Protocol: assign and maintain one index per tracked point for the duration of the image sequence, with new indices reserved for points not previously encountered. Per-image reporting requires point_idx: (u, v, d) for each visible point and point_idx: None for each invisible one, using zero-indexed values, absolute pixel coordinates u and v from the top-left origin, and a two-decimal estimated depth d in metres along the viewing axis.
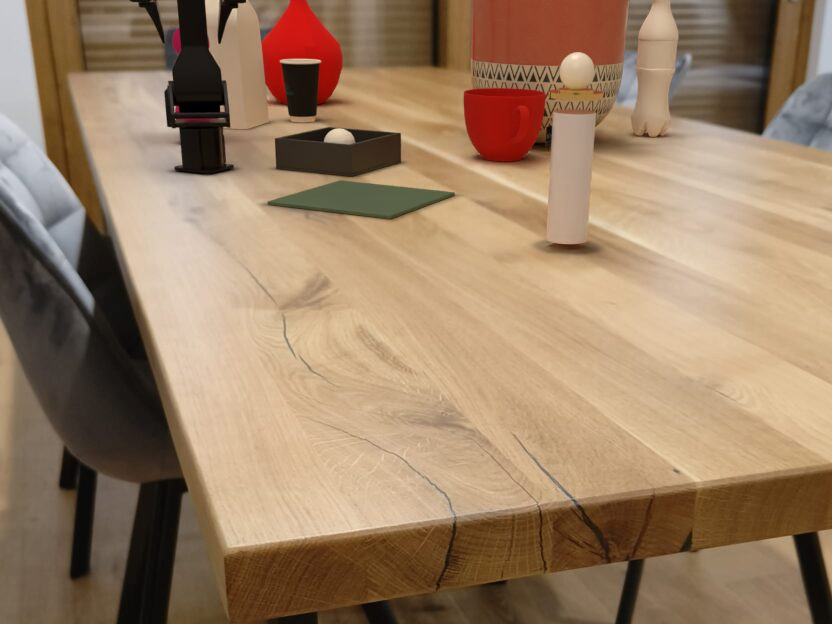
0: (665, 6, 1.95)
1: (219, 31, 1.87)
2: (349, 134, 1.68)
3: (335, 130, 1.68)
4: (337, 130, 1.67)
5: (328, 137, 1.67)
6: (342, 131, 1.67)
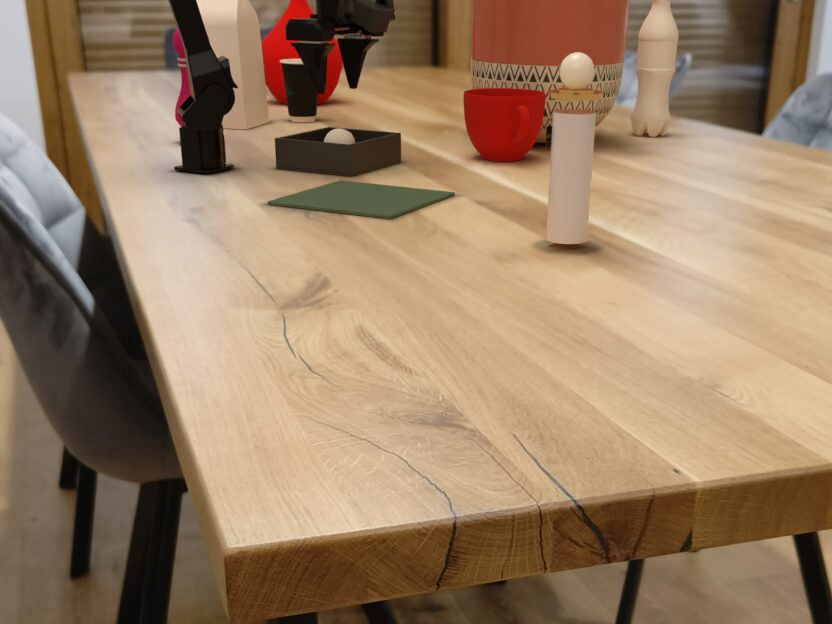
0: (665, 6, 1.95)
1: None
2: (349, 134, 1.68)
3: (335, 130, 1.68)
4: (337, 130, 1.67)
5: (328, 137, 1.67)
6: (342, 131, 1.67)
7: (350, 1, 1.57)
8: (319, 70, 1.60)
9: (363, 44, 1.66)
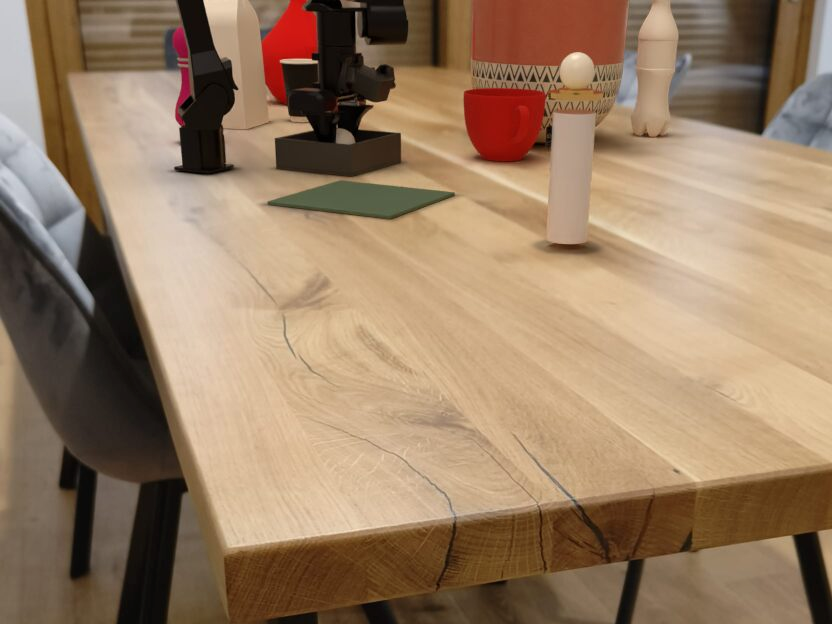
0: (665, 6, 1.95)
1: None
2: (349, 134, 1.68)
3: None
4: (337, 130, 1.67)
5: None
6: (342, 131, 1.67)
7: (351, 71, 1.61)
8: (329, 136, 1.65)
9: (358, 111, 1.69)
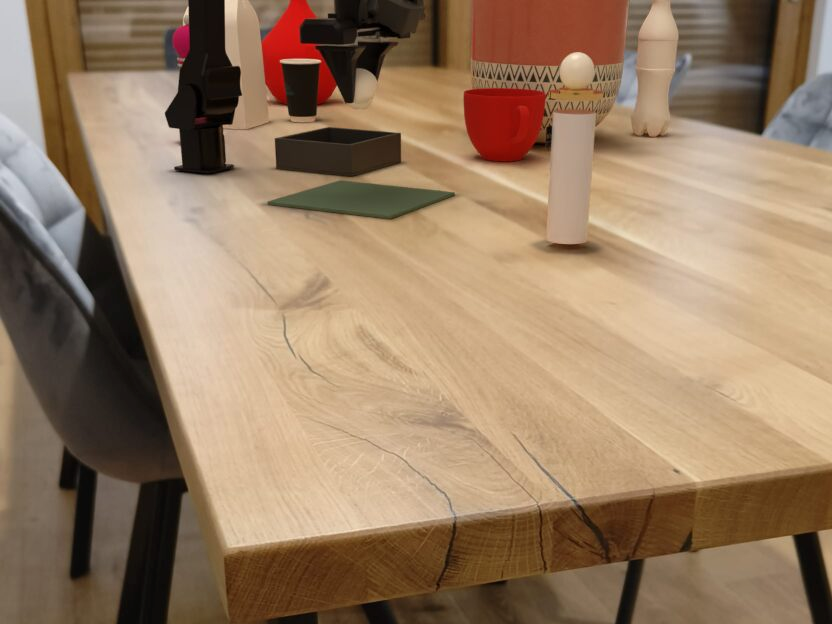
0: (665, 6, 1.95)
1: None
2: (371, 75, 1.43)
3: None
4: (357, 70, 1.43)
5: None
6: (363, 71, 1.43)
7: None
8: (347, 77, 1.41)
9: (380, 48, 1.44)
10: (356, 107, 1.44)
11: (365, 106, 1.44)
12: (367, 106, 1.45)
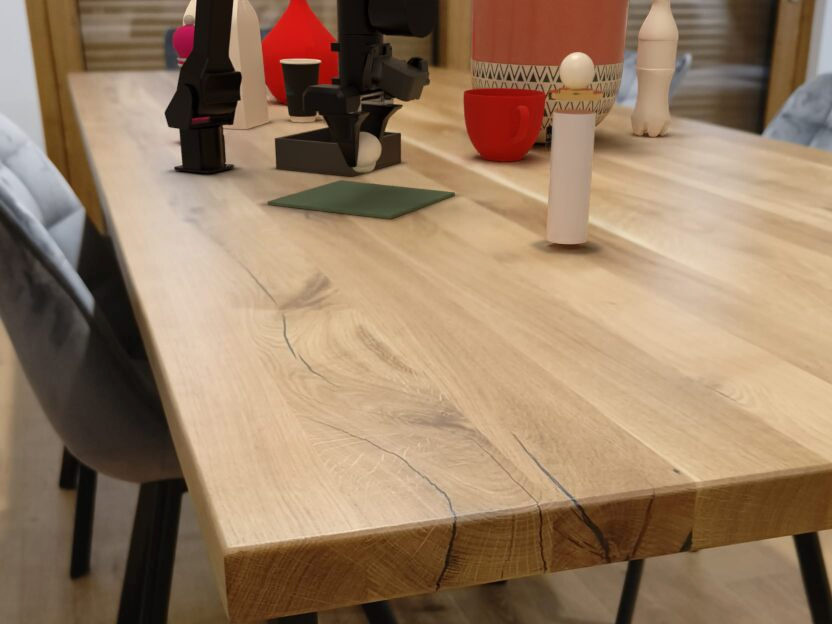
0: (665, 6, 1.95)
1: None
2: (374, 139, 1.42)
3: None
4: (360, 134, 1.42)
5: None
6: (367, 135, 1.42)
7: (378, 65, 1.35)
8: (350, 142, 1.40)
9: (384, 111, 1.43)
10: (359, 170, 1.43)
11: (368, 169, 1.43)
12: (370, 169, 1.44)
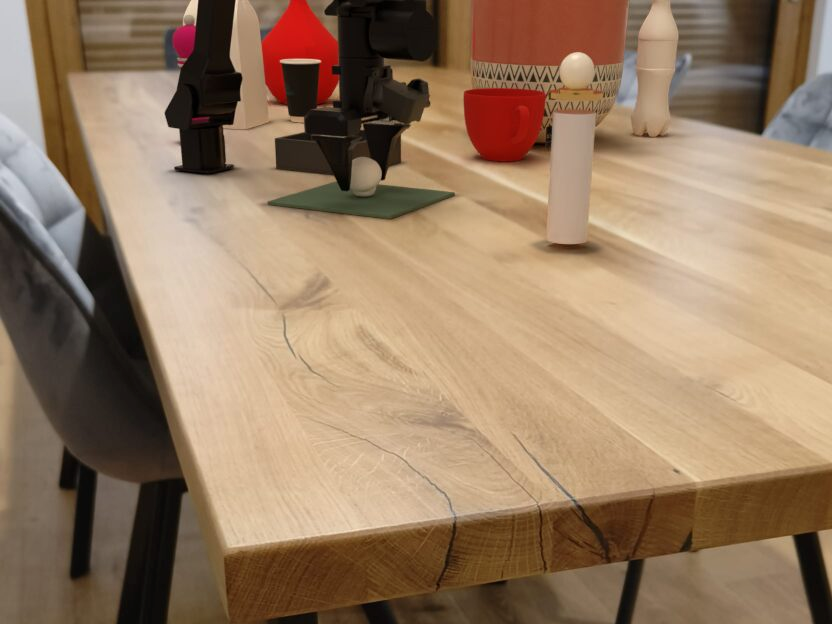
0: (665, 6, 1.95)
1: None
2: (375, 164, 1.44)
3: (358, 159, 1.43)
4: (361, 159, 1.43)
5: None
6: (367, 160, 1.43)
7: (379, 88, 1.36)
8: (343, 166, 1.39)
9: (393, 131, 1.46)
10: (360, 195, 1.45)
11: (369, 194, 1.45)
12: (371, 194, 1.45)
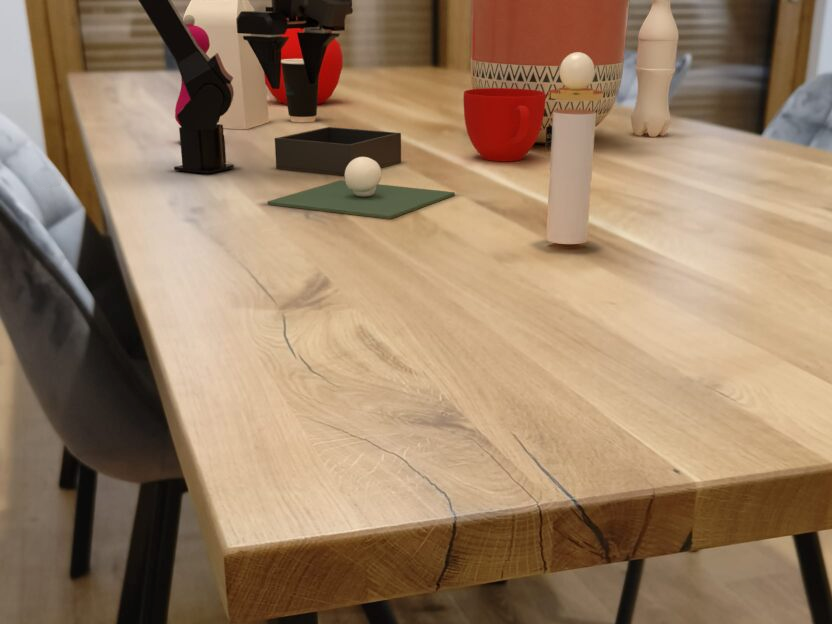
0: (665, 6, 1.95)
1: None
2: (375, 164, 1.44)
3: (358, 159, 1.43)
4: (361, 159, 1.43)
5: (351, 167, 1.43)
6: (367, 160, 1.43)
7: None
8: (273, 65, 1.55)
9: (322, 38, 1.62)
10: (360, 195, 1.45)
11: (369, 194, 1.45)
12: (371, 194, 1.45)
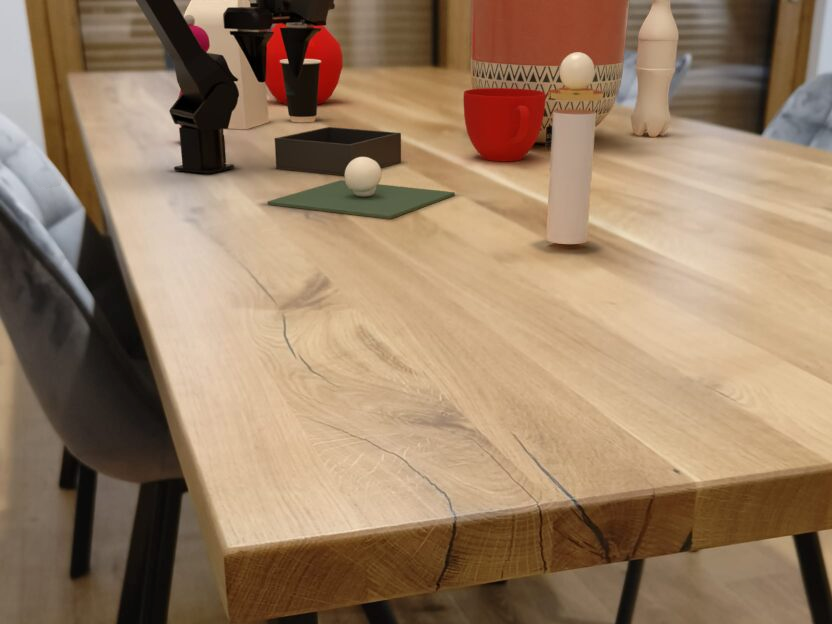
0: (665, 6, 1.95)
1: None
2: (375, 164, 1.44)
3: (358, 159, 1.43)
4: (361, 159, 1.43)
5: (351, 167, 1.43)
6: (367, 160, 1.43)
7: None
8: (259, 59, 1.61)
9: (305, 33, 1.68)
10: (360, 195, 1.45)
11: (369, 194, 1.45)
12: (371, 194, 1.45)
